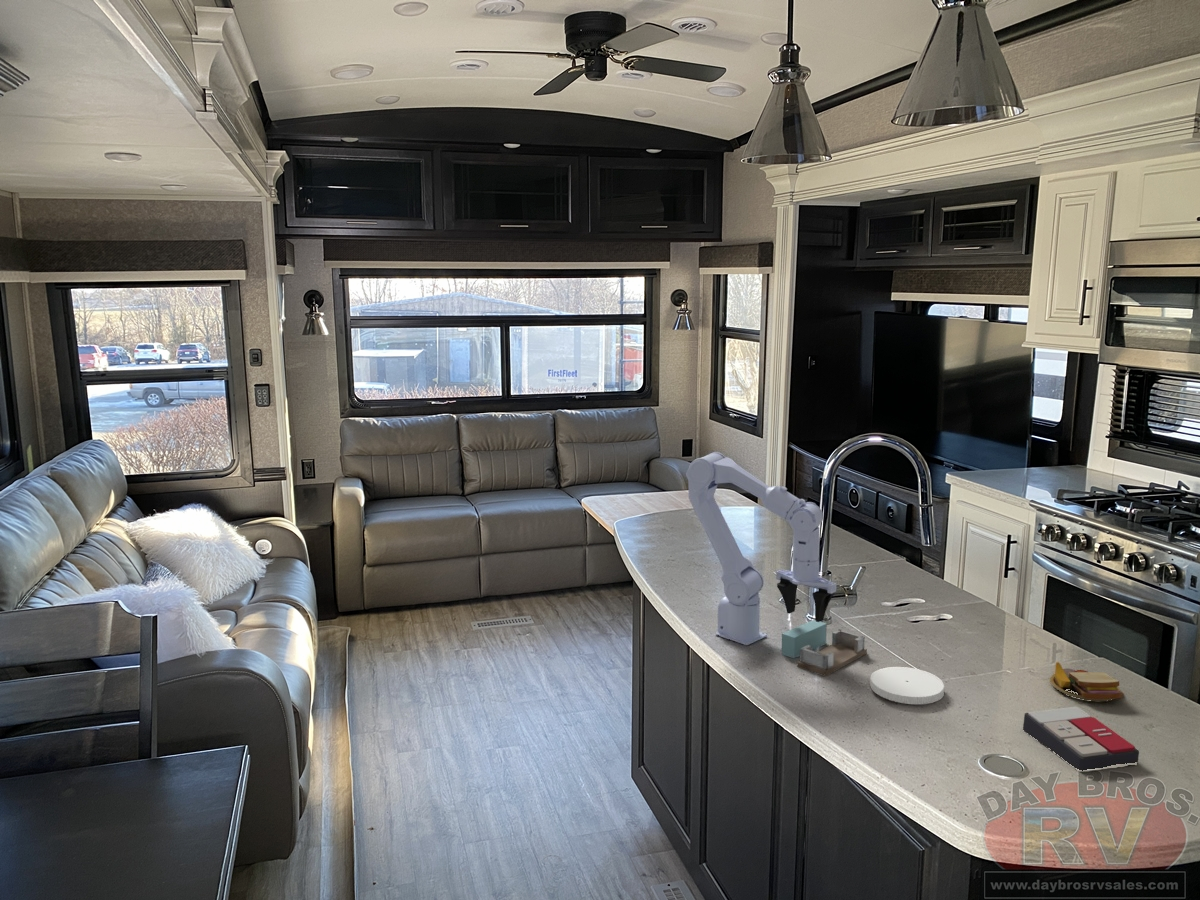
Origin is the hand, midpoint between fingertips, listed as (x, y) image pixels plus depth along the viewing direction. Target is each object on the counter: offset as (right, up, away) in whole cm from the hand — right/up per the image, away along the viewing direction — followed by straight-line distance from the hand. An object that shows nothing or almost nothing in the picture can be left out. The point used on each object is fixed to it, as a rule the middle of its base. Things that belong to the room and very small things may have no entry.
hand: (805, 616), depth 198 cm
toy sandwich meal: (+51, -11, -22) cm, 57 cm away
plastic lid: (+16, -12, -21) cm, 28 cm away
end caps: (+5, -9, -5) cm, 11 cm away
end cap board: (+5, -9, -5) cm, 11 cm away
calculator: (+38, -15, -43) cm, 59 cm away
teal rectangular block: (0, -8, +1) cm, 8 cm away
